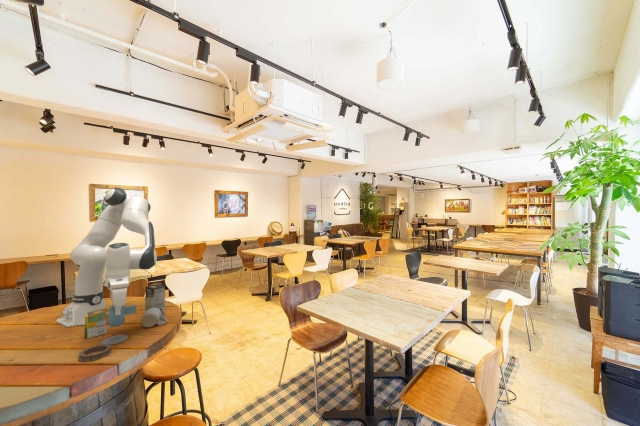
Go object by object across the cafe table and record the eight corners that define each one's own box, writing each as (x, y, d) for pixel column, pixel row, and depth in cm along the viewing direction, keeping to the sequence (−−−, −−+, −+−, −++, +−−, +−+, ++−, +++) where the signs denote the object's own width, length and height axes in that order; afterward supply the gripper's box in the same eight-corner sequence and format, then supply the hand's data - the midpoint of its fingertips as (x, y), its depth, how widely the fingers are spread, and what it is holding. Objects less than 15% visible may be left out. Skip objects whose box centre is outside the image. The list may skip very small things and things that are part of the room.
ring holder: (73, 359, 99) (73, 353, 99) (100, 347, 108) (100, 342, 108) (89, 363, 96) (89, 357, 96) (116, 351, 105) (116, 346, 105)
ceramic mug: (139, 329, 126) (140, 313, 126) (144, 323, 134) (144, 308, 134) (165, 326, 130) (165, 310, 130) (168, 320, 137) (168, 305, 138)
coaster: (96, 343, 112) (96, 342, 112) (118, 335, 120) (118, 333, 120) (110, 347, 109) (110, 345, 109) (132, 337, 117) (132, 336, 117)
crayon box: (103, 331, 124) (104, 306, 124) (106, 333, 122) (107, 307, 123) (84, 337, 117) (84, 311, 118) (87, 339, 116) (87, 312, 116)
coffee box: (144, 316, 144) (144, 286, 145) (156, 312, 150) (157, 284, 150) (152, 319, 139) (153, 288, 140) (165, 315, 145) (165, 286, 145)
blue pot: (108, 328, 111) (109, 308, 111) (107, 324, 115) (108, 305, 116) (136, 322, 117) (136, 304, 118) (134, 319, 122) (135, 301, 122)
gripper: (106, 277, 121) (105, 308, 121) (110, 285, 106) (109, 320, 106) (123, 275, 125) (123, 305, 125) (129, 283, 110) (128, 316, 110)
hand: (116, 312), depth 115 cm, fingers closed on blue pot, 6 cm apart
